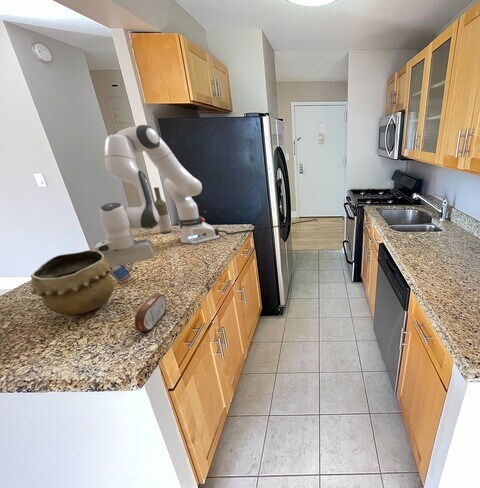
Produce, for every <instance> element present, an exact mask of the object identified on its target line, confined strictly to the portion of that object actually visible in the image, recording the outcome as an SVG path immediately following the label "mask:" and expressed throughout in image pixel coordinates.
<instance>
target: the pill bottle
mask: <svg viewBox="0 0 480 488" xmlns="http://www.w3.org/2000/svg"><path fill="white" fill-rule="evenodd" d="M110 265H111V267H112V270H111V272H110V273H109V274H110V276H111V277H112V278H114V279H115V281H116V282H117V283H119V284H122V283H125V282H127V281H128V280H130V279H131V278H132V274H131V272H128V270H127V269H126V268H125V267H123V265H122V264H120V265H115V264H114V263H113V262H112V263H110Z"/></svg>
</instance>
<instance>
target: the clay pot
mask: <svg viewBox="0 0 480 488" xmlns="http://www.w3.org/2000/svg"><path fill="white" fill-rule="evenodd" d="M111 270H112V267H111V265H110V264H109V263H108V261H107V259H106V258H105V256H104V255H103V254H102V253H101V252H99V251H96V250H95V249H90V250H89V249H87V250H83V251H79V252H72V253H63V254H58V255H55V256H53V257H52V258H50V259H48V260H47V261H46V262H44V263H43V264H42V265H40V266H39V267H38V268H37V269H36V270H35V271H34V272H33V273H32V274H31V275H30V278H31V285H32V286H31V287H32V288H31V289H32V290H30V293H31V294H32V295H37V297H40V298H41V302H42V304H43V306H44V307H46V308H47V309H48V310H50V311H51V312H54V313H57V314H61V315H66V316H73V315H74V316H75V315H82V314H86V313H89V312H92V311H94V310H97V309H98V308H100V307H102V306H103V305H104V304H105V303H107V302H108V301H109V299H110V298H111V296H112V295H113V292H114V289H115V282H114V279H113V276H112V275H111V274H110V272H111Z"/></svg>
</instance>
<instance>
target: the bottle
mask: <svg viewBox="0 0 480 488" xmlns="http://www.w3.org/2000/svg"><path fill="white" fill-rule="evenodd" d="M153 190H154V194H155V198H156V199H155V200H154V203H155V206H156V209H157V211H158V214H159V217H160V222H159V223H158V225H159V229H160V232H161V234H167V233H171V232H172V225H171V220H170V215H169V211H168V210H169V209H168V206H167V205H168V204H167V202H166V201H164V200H163V199H162V196H161V192H160V187H153Z"/></svg>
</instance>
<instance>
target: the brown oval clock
mask: <svg viewBox="0 0 480 488" xmlns="http://www.w3.org/2000/svg"><path fill="white" fill-rule="evenodd" d="M166 310H167V297H166V295H165V294H163V293H153V294H152V295H150V296H149V298H148V299H146V301H145V302H144V303H143V304H142V305H141V306H140V307H139V308H138V309H137V311H136V313H135V315H134V316H135V317H134V327H135V330H136V331H138V332H148V331H151V330H152V329H153V328H154V327H155V325H156V324H158V322H159V321H160V320H161V318H162V317H163V316H164V314H165V312H166Z"/></svg>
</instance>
